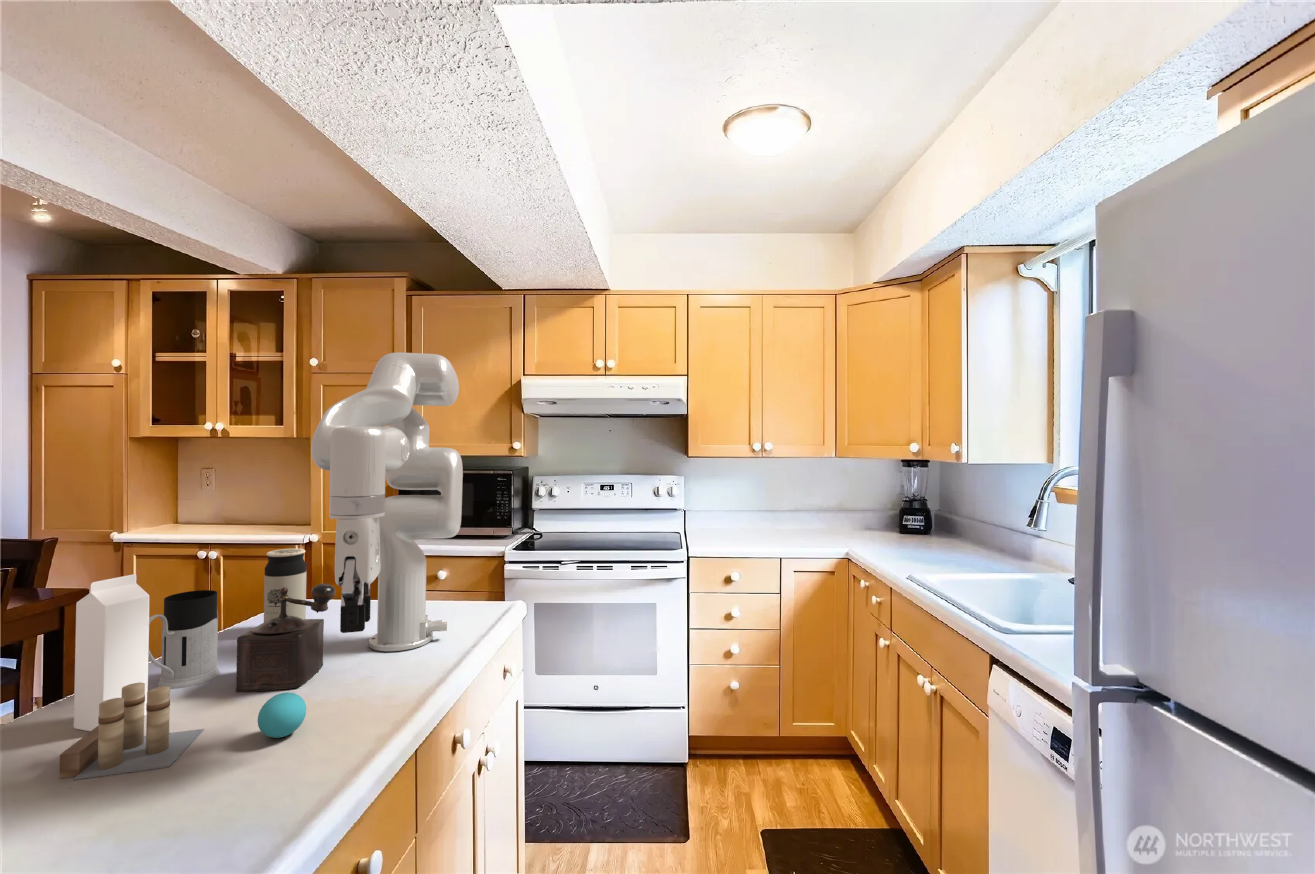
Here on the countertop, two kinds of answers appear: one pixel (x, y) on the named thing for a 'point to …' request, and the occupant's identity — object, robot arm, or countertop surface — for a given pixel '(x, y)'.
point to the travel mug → (285, 582)
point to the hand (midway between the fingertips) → (355, 625)
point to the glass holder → (188, 639)
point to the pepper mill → (283, 647)
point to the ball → (281, 715)
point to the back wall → (79, 755)
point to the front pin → (157, 720)
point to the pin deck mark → (145, 756)
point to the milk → (109, 645)
